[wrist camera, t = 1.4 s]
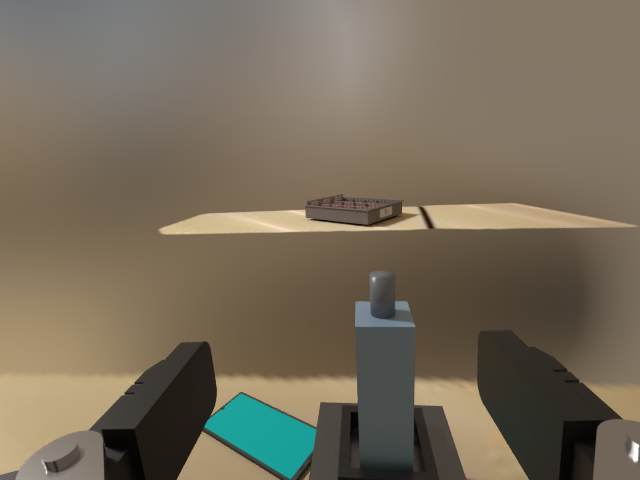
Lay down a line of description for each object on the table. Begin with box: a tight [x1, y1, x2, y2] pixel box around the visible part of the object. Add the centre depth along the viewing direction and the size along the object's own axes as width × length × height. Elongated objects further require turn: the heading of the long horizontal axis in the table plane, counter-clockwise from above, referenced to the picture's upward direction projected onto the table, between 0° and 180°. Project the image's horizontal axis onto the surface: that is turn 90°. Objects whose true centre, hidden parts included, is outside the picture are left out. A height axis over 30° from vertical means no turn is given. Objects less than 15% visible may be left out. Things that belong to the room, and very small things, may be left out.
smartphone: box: [202, 392, 317, 480], centre depth 41 cm, size 7×1×15 cm
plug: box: [355, 271, 415, 471], centre depth 26 cm, size 4×4×16 cm
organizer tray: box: [304, 194, 403, 225], centre depth 172 cm, size 32×40×10 cm
